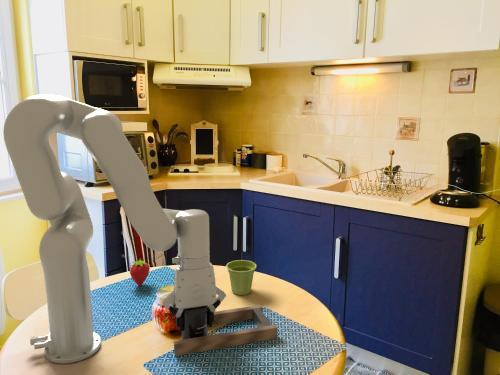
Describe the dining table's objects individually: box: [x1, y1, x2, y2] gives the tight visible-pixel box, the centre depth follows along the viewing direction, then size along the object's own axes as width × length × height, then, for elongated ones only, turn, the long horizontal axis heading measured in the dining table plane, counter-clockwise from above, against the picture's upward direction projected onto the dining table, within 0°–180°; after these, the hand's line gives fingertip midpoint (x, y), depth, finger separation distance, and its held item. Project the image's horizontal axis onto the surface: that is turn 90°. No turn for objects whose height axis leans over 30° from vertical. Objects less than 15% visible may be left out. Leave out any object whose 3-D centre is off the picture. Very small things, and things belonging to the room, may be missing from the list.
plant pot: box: [225, 259, 257, 296], centre depth 134 cm, size 9×9×9 cm
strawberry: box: [129, 259, 150, 287], centre depth 136 cm, size 6×8×10 cm
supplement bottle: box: [180, 306, 209, 340], centre depth 107 cm, size 7×7×12 cm
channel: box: [173, 304, 278, 357], centre depth 110 cm, size 26×12×3 cm, turn 108°
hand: (195, 326), depth 107 cm, fingers closed on supplement bottle, 6 cm apart
